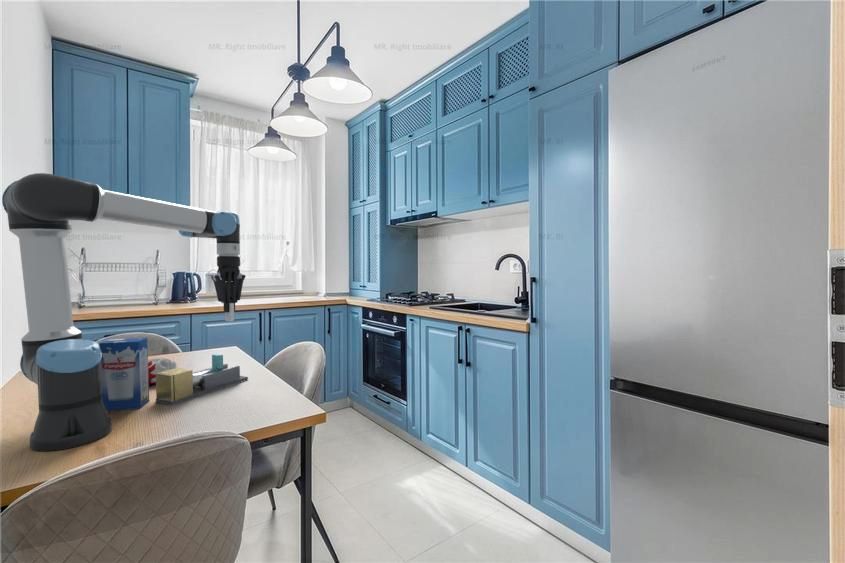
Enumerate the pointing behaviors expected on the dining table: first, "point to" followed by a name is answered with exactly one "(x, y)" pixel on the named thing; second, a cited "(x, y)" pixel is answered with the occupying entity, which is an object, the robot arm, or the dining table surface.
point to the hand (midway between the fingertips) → (229, 320)
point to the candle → (158, 367)
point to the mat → (200, 392)
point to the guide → (191, 381)
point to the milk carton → (124, 373)
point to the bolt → (216, 366)
